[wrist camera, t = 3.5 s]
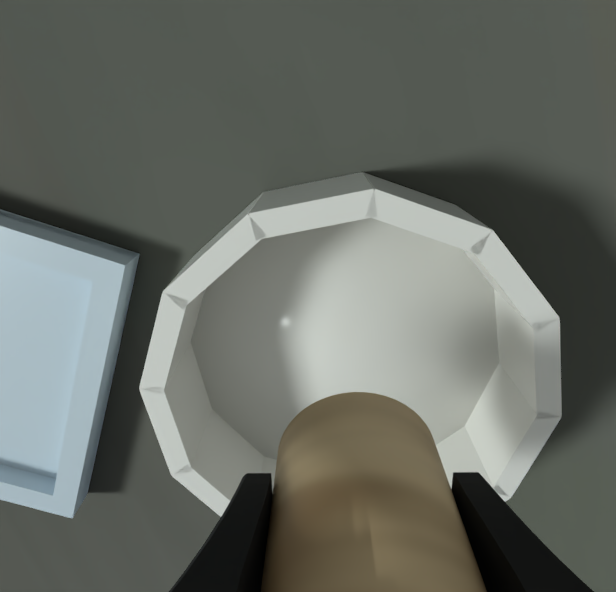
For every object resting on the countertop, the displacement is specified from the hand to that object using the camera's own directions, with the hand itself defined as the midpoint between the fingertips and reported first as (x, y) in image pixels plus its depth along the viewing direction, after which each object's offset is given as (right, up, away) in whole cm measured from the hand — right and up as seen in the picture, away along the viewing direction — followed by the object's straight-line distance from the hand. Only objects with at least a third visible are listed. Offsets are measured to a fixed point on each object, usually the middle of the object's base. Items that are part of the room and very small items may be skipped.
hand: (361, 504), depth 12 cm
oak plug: (0, +1, +2) cm, 2 cm away
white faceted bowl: (0, +3, +8) cm, 8 cm away
